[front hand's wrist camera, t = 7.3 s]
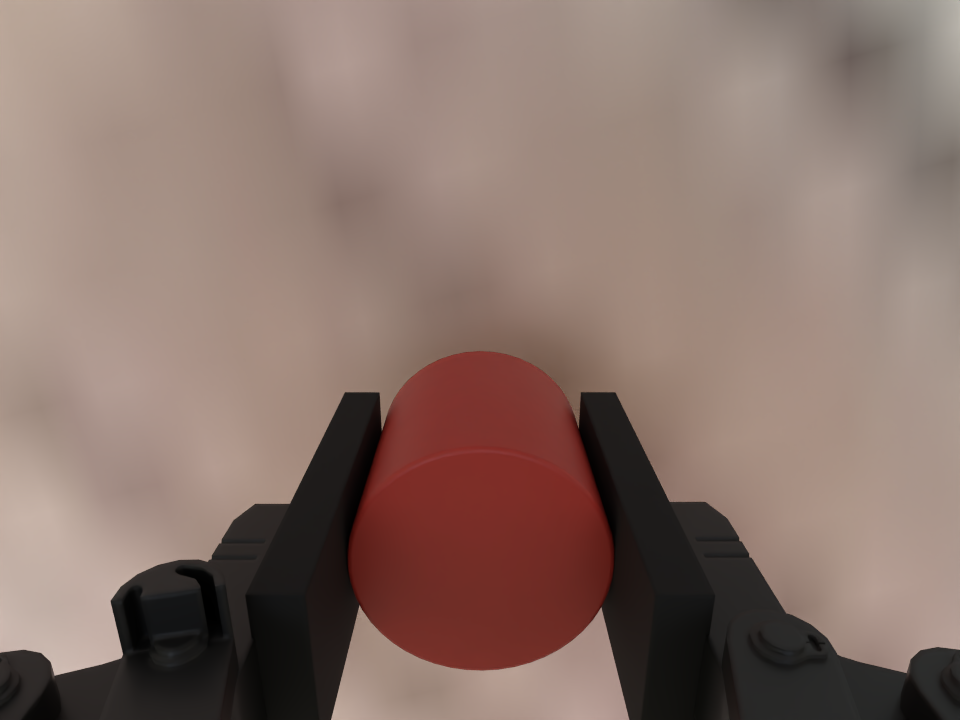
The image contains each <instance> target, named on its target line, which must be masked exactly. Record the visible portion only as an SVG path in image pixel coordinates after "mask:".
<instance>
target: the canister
mask: <svg viewBox="0 0 960 720" xmlns="http://www.w3.org/2000/svg"><path fill="white" fill-rule="evenodd" d="M614 554H615V547H614V541H613V535H612V531H611V528H610V525H609V522H608V519H607V516H606V513H605V510H604V506H603V503H602V500H601V497H600V494H599V491H598V488H597V485H596V481H595V478H594V475H593V472H592V469H591V466H590V463H589V460H588V456H587V453H586V450H585V447H584V444H583V441H582V438H581V435H580V431H579V428H578V425H577V422H576V419H575V416H574V413H573V410H572V407H571V405H570V403H569V401H568V399H567V397H566V396H565V395H564V393H563V392H562V390H561V389H560V387H559V386H558V385H557V384H556V383H555V382H554V381H553V380H552V379H551V378H550V377H549V376H548V375H546V374H545V373H544V372H543V371H542V370H540V369H538V368H537V367H535V366H534V365H532V364H530V363H528V362H526V361H524V360H522V359H519V358H516V357H513V356H510V355H507V354H502V353H496V352H483V351H477V352H465V353H460V354H455V355H451V356H448V357H445V358H442V359H440V360H438V361H436V362H433V363H431V364H429V365H428V366H426V367H425V368H423V369H422V370H420V371H418V372H417V373H416V374H415V375H414V376H413V377H411V378H410V379H409V380H408V381H407V382H406V383H405V385H404V386H403V387H402V388H401V389H400V391H399V392H398V394H397V395H396V397H395V398H394V400H393V402H392V404H391V406H390V408H389V411H388V414H387V417H386V420H385V423H384V427H383V430H382V433H381V436H380V439H379V443H378V446H377V449H376V452H375V455H374V459H373V462H372V465H371V468H370V471H369V475H368V478H367V481H366V484H365V487H364V491H363V494H362V497H361V500H360V503H359V506H358V510H357V513H356V516H355V519H354V522H353V526H352V529H351V532H350V536H349V541H348V549H347V567H348V572H349V578H350V582H351V585H352V588H353V591H354V594H355V597H356V599H357V601H358V602H359V604H360V606H361V608H362V610H363V612H364V613H365V614H366V616H367V617H368V619H369V620H370V621H371V623H372V624H373V625H374V626H375V627H376V628H377V629H378V630H379V631H380V632H381V633H382V634H383V635H384V636H385V637H387V638H388V639H389V640H390V641H391V642H393V643H394V644H396V645H397V646H399V647H400V648H402V649H403V650H405V651H407V652H409V653H411V654H413V655H415V656H417V657H419V658H421V659H424V660H426V661H429V662H432V663H435V664H439V665H443V666H446V667H451V668H458V669H464V670H498V669H504V668H510V667H516V666H519V665H523V664H527V663H530V662H533V661H535V660H538V659H541V658H543V657H545V656H547V655H549V654H551V653H553V652H555V651H557V650H559V649H560V648H562V647H563V646H565V645H566V644H568V643H569V642H571V641H572V640H573V639H574V638H575V637H576V636H578V635H579V634H580V633H581V632H582V631H583V630H584V629H585V628H586V627H587V626H588V625H589V623H590V622H591V621H592V620H593V619H594V617H595V616H596V614H597V613H598V611H599V610H600V608H601V607H602V605H603V602H604V600H605V598H606V596H607V594H608V591H609V588H610V585H611V582H612V578H613V570H614Z"/></svg>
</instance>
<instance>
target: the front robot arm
mask: <svg viewBox="0 0 960 720" xmlns="http://www.w3.org/2000/svg"><path fill="white" fill-rule="evenodd" d="M579 431H580V435H581V438H582V441H583V444H584V447H585V450H586V453H587V456H588V460H589V463H590V466H591V469H592V472H593V475H594V478H595V481H596V485H597V488H598V491H599V494H600V497H601V500H602V503H603V506H604V510H605V513H606V516H607V519H608V522H609V525H610V528H611V531H612V535H613V541H614V547H615V554H614V570H613V578H612V582H611V585H610V588H609V591H608V594H607V596H606V598H605V600H604V602H603V605H602V611H603V615H604V619H605V623H606V627H607V631H608V635H609V639H610V643H611V647H612V651H613V655H614V659H615V663H616V667H617V671H618V675H619V680H620V684H621V688H622V692H623V696H624V700H625V704H626V708H627V712H628V716H629V720H960V650H956V649H948V648H940V647H936V648H931V649H925V650H920V651H919V652H918V653H917V654H916V655H915V656H914V657H913V658H912V659H911V661H910V664H909V667H908V671H907V673H903V672H899V671H895V670H891V669H886V668H882V667H878V666H874V665H869V664H865V663H861V662H857V661H854V660H851V659H848V658H844V657H841V656H839V655H837V653H836V651H835V650H834V648H833V647H832V645H831V643H830V642H829V640H828V639H827V638H826V637H825V636H824V635H823V634H822V633H820V632H819V631H818V630H817V629H816V628H814V627H813V626H812V625H811V624H809V623H807V622H805V621H803V620H801V619H799V618H797V617H795V616H793V615H790V614H786V613H785V611H784V609H783V608H782V606H781V605H780V603H779V601H778V600H777V598H776V596H775V595H774V593H773V592H772V590H771V588H770V587H769V585H768V584H767V582H766V580H765V579H764V577H763V575H762V574H761V572H760V571H759V569H758V567H757V566H756V564H755V563H754V561H753V559H752V558H749V553H748V551H747V550H746V548H745V546H744V545H743V543H742V542H741V541H739V537H738V535H737V533H736V532H735V530H734V529H733V527H732V525H731V524H730V522H729V521H728V519H727V518H726V517H725V516H723V515H722V514H721V513H719V512H718V511H717V510H715V509H714V508H713V507H711V506H710V505H709V504H707V503H706V502H669V500H668V498H667V496H666V494H665V492H664V490H663V488H662V486H661V484H660V482H659V480H658V478H657V476H656V474H655V472H654V470H653V468H652V466H651V464H650V462H649V460H648V458H647V456H646V454H645V452H644V449H643V447H642V445H641V443H640V441H639V439H638V437H637V435H636V433H635V431H634V429H633V427H632V425H631V423H630V421H629V419H628V417H627V415H626V413H625V411H624V409H623V407H622V405H621V403H620V401H619V399H618V397H617V395H616V393H615V392H581V401H580V418H579ZM381 433H382V428H381V411H380V393H379V392H345V394H344V396H343V398H342V400H341V402H340V404H339V406H338V408H337V410H336V412H335V414H334V416H333V418H332V420H331V422H330V424H329V426H328V428H327V430H326V432H325V434H324V436H323V438H322V440H321V442H320V444H319V446H318V448H317V450H316V452H315V454H314V456H313V459H312V461H311V463H310V465H309V467H308V469H307V471H306V473H305V475H304V477H303V479H302V481H301V483H300V485H299V487H298V489H297V491H296V493H295V495H294V497H293V499H292V501H291V503H290V504H255V505H253V506H252V507H251V508H249V509H248V510H247V511H245V512H244V513H243V514H241V515H240V516H239V517H237V518H236V519H235V520H234V521H233V522H232V524H231V525H230V527H229V529H228V530H227V532H226V534H225V535H224V537H223V538H222V543H221V544H219V545H218V547H217V548H216V550H215V552H214V553H213V555H212V560H209V561H208V562H205V561H202V560H177V561H173V562H169V563H165V564H161V565H157V566H155V567H153V568H151V569H148V570H146V571H144V572H142V573H139V574H137V575H136V576H135V577H133V578H132V579H131V580H129V581H128V582H127V583H125V584H124V585H123V586H121V587H120V589H119V590H118V591H117V593H116V594H115V596H114V597H113V598H112V600H111V605H112V609H113V613H114V617H115V622H116V626H117V630H118V634H119V638H120V643H121V647H122V651H123V656H122V658H121V659H118V660H115V661H112V662H109V663H105V664H102V665H98V666H94V667H90V668H85V669H81V670H77V671H73V672H69V673H64V674H60V675H56V676H54V672H53V669H52V665H51V662H50V661H49V660H48V659H47V658H46V657H45V656H44V655H42V654H41V653H38V652H33V651H27V650H18V651H10V652H2V653H0V720H331V718H332V714H333V710H334V706H335V701H336V697H337V693H338V689H339V685H340V681H341V677H342V673H343V669H344V665H345V661H346V657H347V653H348V649H349V645H350V641H351V637H352V633H353V629H354V625H355V621H356V617H357V613H358V609H359V605H360V604H359V602H358V601H357V599H356V597H355V594H354V591H353V588H352V585H351V582H350V578H349V572H348V567H347V549H348V541H349V536H350V532H351V529H352V526H353V522H354V519H355V516H356V513H357V510H358V506H359V503H360V500H361V497H362V494H363V491H364V487H365V484H366V481H367V478H368V475H369V471H370V468H371V465H372V462H373V459H374V455H375V452H376V449H377V446H378V443H379V439H380V436H381Z"/></svg>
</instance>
